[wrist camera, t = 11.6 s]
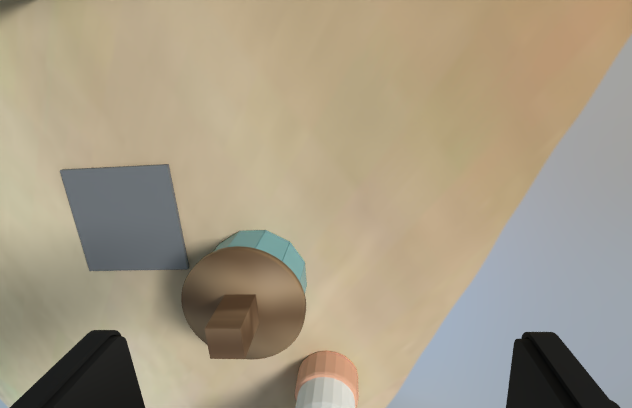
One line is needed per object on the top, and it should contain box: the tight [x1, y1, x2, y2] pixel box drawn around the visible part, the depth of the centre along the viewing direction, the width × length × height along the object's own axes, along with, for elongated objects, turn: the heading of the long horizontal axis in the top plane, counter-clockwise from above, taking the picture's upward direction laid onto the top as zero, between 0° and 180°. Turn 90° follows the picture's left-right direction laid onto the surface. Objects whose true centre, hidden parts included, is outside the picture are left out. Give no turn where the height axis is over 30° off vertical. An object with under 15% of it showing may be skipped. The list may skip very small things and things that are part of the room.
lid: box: [182, 246, 306, 359], centre depth 33 cm, size 12×12×6 cm
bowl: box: [213, 230, 307, 294], centre depth 38 cm, size 11×11×6 cm
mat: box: [60, 164, 189, 271], centre depth 40 cm, size 12×12×1 cm
